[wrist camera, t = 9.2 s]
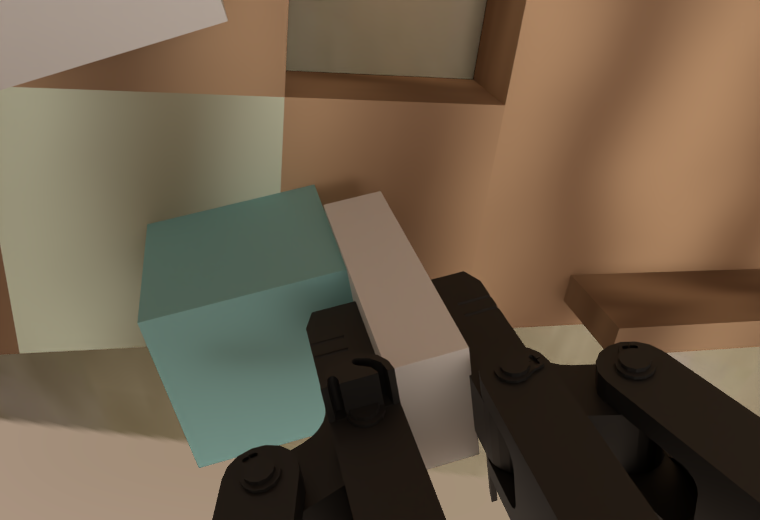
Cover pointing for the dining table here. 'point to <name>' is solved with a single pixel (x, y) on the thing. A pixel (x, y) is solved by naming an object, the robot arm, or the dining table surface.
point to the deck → (414, 167)
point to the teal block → (241, 319)
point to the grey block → (89, 31)
